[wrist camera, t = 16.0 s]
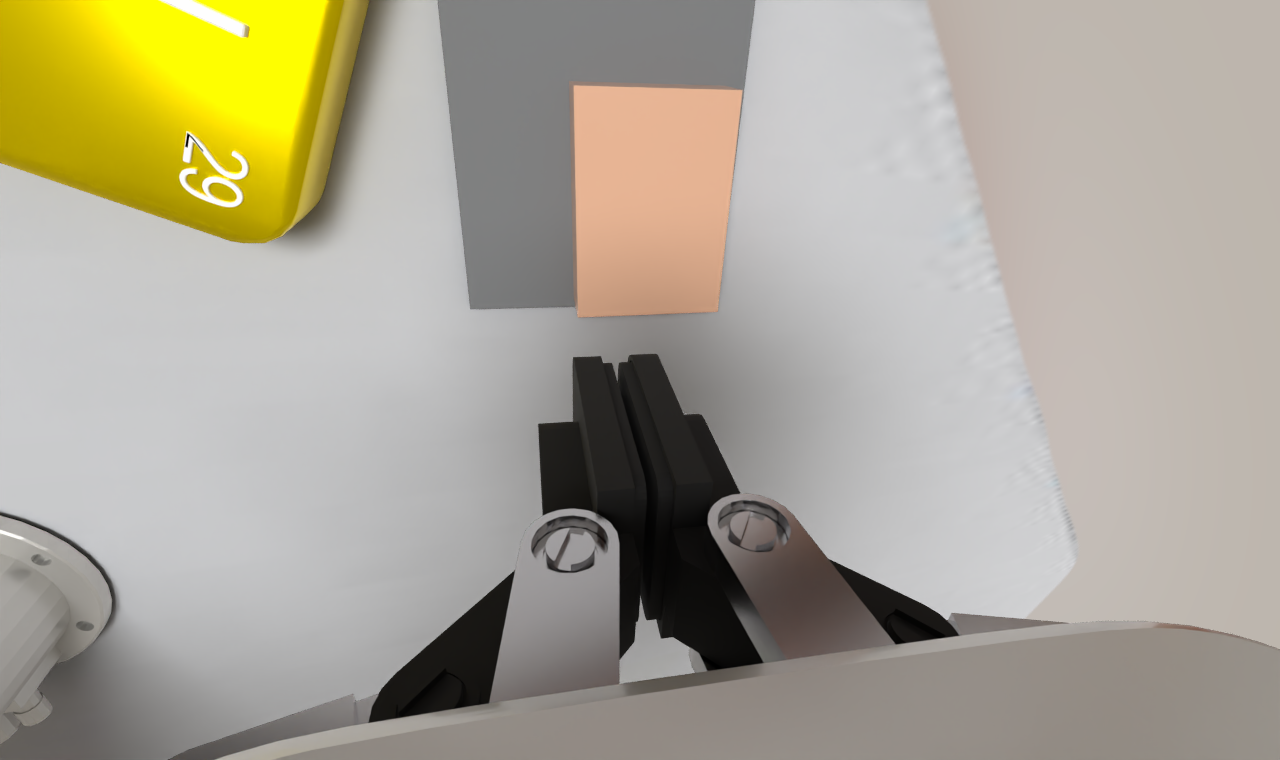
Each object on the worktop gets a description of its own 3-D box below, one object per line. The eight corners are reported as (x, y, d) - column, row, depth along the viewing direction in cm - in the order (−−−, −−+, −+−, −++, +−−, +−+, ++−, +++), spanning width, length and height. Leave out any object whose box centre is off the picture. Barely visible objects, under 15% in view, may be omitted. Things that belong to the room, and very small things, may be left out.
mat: (714, 298, 32) (717, 302, 32) (471, 304, 30) (470, 309, 29) (761, -92, 24) (767, -95, 23) (426, -126, 21) (423, -130, 21)
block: (573, 298, 30) (704, 293, 31) (577, 317, 28) (717, 311, 29) (568, 81, 25) (725, 85, 26) (573, 85, 23) (742, 90, 24)
